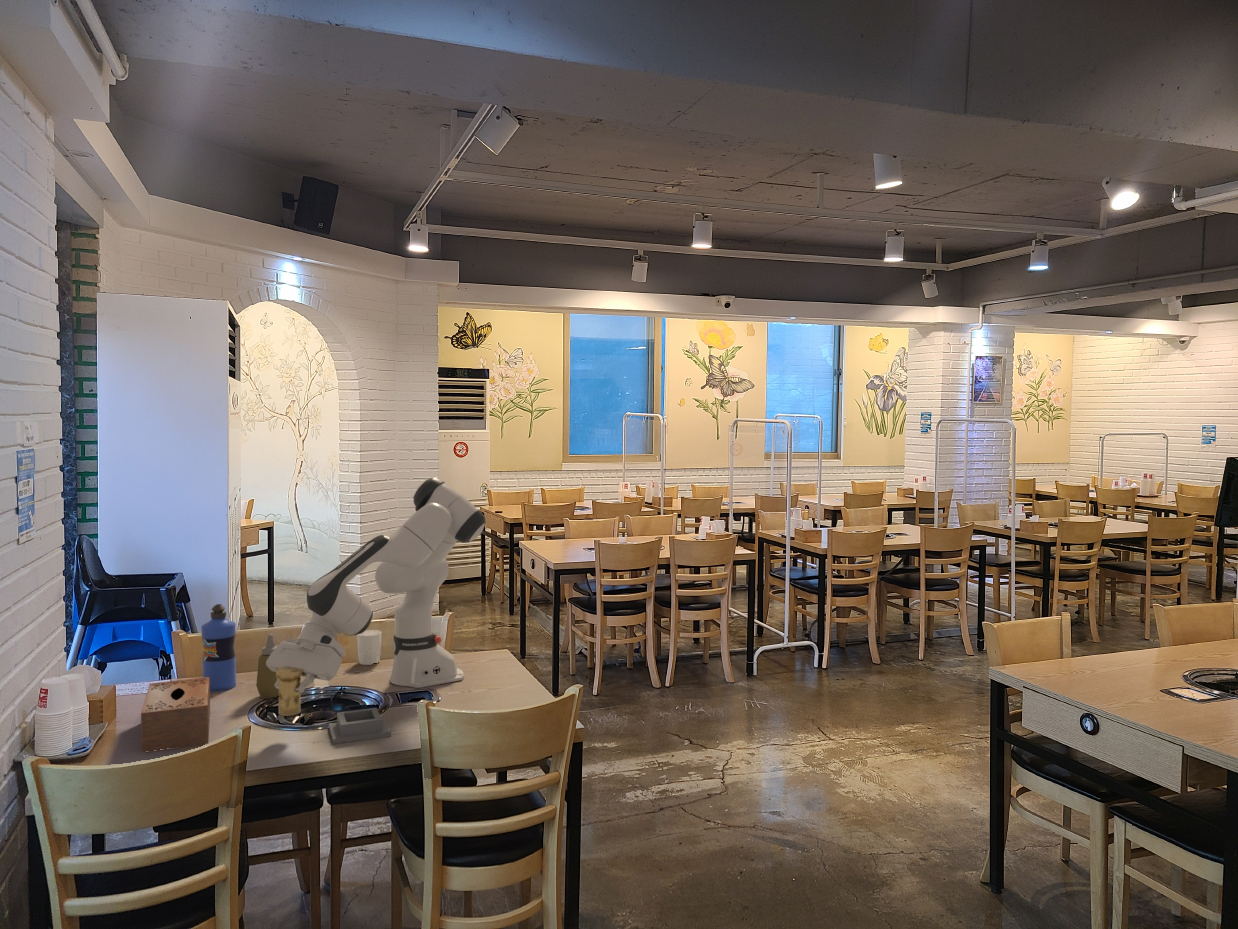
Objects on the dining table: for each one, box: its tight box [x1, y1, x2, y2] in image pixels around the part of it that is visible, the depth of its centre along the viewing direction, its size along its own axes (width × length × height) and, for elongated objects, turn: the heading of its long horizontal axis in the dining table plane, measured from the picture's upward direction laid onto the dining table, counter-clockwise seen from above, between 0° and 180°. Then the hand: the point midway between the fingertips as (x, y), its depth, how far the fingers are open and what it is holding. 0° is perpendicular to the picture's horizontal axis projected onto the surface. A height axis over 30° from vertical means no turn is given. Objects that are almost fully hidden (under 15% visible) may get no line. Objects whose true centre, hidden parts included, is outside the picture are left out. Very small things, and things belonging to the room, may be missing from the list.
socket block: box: [328, 707, 392, 745], centre depth 219 cm, size 14×12×4 cm
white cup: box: [356, 629, 382, 666], centre depth 283 cm, size 8×8×10 cm
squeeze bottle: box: [255, 634, 279, 699], centre depth 247 cm, size 8×8×18 cm
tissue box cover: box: [140, 677, 211, 753], centre depth 219 cm, size 26×14×10 cm, turn 25°
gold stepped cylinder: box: [276, 666, 303, 717], centre depth 215 cm, size 6×6×11 cm
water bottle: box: [200, 603, 237, 693], centre depth 255 cm, size 9×9×25 cm
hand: (287, 689), depth 214 cm, fingers closed on gold stepped cylinder, 5 cm apart
